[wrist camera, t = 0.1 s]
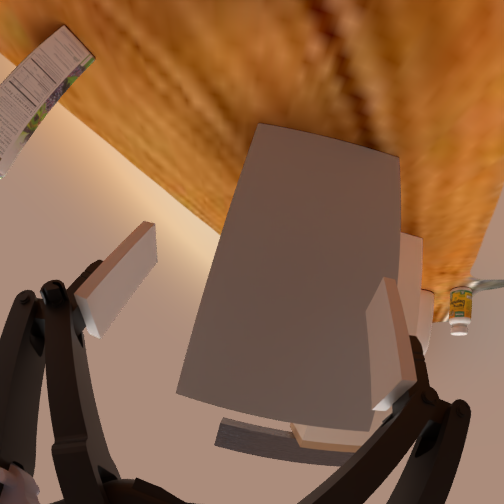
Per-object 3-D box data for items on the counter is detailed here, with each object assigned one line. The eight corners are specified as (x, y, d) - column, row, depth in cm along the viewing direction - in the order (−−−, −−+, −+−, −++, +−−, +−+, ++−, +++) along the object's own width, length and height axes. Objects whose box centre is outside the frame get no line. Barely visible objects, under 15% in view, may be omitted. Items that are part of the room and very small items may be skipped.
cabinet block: (347, 217, 38) (300, 447, 28) (422, 238, 36) (388, 453, 27) (329, 246, 48) (289, 426, 38) (392, 262, 47) (360, 434, 37)
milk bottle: (431, 288, 53) (419, 381, 46) (436, 297, 58) (425, 381, 51) (400, 289, 58) (386, 378, 52) (407, 298, 63) (395, 379, 57)
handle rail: (220, 422, 32) (214, 445, 31) (401, 446, 30) (393, 466, 29) (223, 417, 35) (217, 438, 34) (391, 440, 33) (384, 460, 32)
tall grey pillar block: (258, 122, 26) (175, 393, 18) (399, 157, 24) (369, 431, 16) (258, 175, 34) (199, 382, 26) (370, 202, 33) (336, 411, 25)
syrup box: (70, 78, 22) (-6, 189, 17) (39, 47, 17) (-48, 158, 13) (97, 58, 20) (6, 181, 15) (63, 21, 15) (-45, 142, 10)
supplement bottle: (456, 294, 53) (453, 336, 50) (446, 288, 51) (443, 333, 48) (475, 291, 48) (473, 335, 45) (466, 284, 46) (464, 331, 43)
